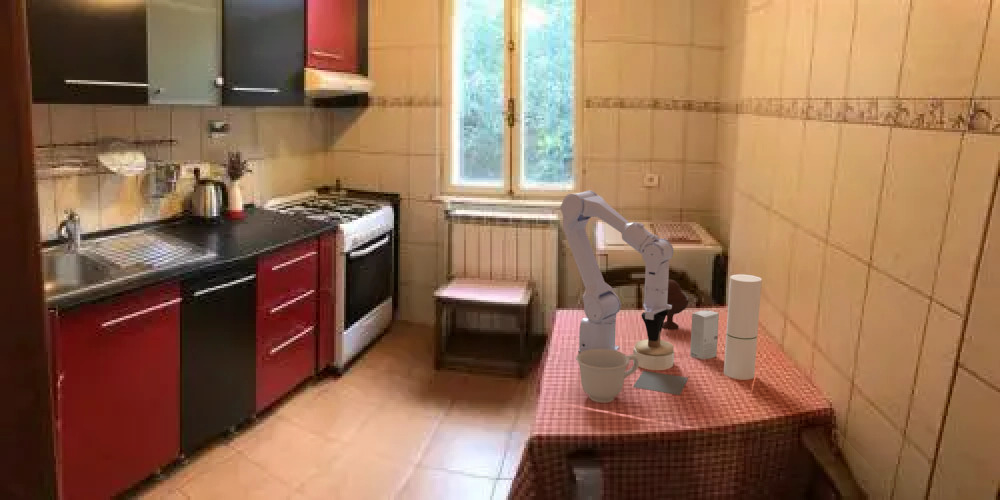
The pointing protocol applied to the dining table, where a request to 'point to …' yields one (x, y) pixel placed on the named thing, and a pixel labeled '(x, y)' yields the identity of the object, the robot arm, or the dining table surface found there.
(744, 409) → the dining table surface
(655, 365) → the bowl
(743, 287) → the cylindrical container
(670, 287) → the ice cream bowl
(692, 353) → the skincare box
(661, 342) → the lid
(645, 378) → the mat
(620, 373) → the teacup
